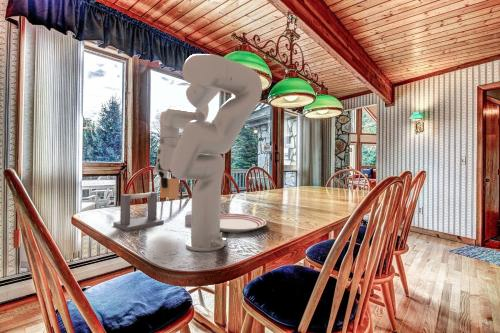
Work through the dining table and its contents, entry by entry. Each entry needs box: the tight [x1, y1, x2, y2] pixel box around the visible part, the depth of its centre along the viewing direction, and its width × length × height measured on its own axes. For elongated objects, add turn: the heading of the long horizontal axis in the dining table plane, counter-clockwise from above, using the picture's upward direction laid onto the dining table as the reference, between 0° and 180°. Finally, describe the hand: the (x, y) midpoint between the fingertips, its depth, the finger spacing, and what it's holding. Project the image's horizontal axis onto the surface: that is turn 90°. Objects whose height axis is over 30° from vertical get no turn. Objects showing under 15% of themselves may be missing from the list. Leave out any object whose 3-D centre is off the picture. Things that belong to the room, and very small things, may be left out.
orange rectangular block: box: [159, 177, 180, 200], centre depth 103 cm, size 7×4×8 cm, turn 52°
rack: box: [113, 191, 165, 232], centre depth 108 cm, size 12×16×14 cm
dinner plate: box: [220, 213, 267, 233], centre depth 109 cm, size 28×27×3 cm
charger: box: [184, 210, 192, 226], centre depth 118 cm, size 5×9×15 cm
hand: (169, 186), depth 103 cm, fingers closed on orange rectangular block, 4 cm apart
